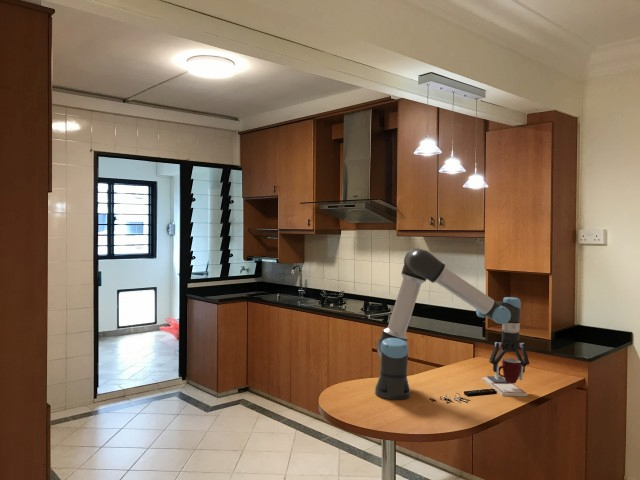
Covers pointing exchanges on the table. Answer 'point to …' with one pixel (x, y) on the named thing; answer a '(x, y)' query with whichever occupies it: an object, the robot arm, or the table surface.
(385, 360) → the robot arm
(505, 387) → the board
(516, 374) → the mug
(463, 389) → the table surface
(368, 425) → the table surface
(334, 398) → the table surface
